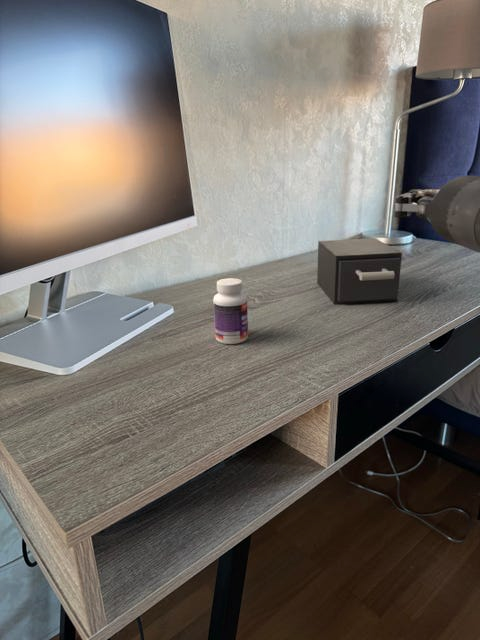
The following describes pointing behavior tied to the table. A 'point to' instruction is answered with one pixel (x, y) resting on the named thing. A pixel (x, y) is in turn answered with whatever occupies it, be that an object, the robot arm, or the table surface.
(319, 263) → the small drawer unit
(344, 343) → the table surface
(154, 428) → the table surface
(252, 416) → the table surface
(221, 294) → the pill bottle
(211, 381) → the table surface
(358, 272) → the dark drawer box
